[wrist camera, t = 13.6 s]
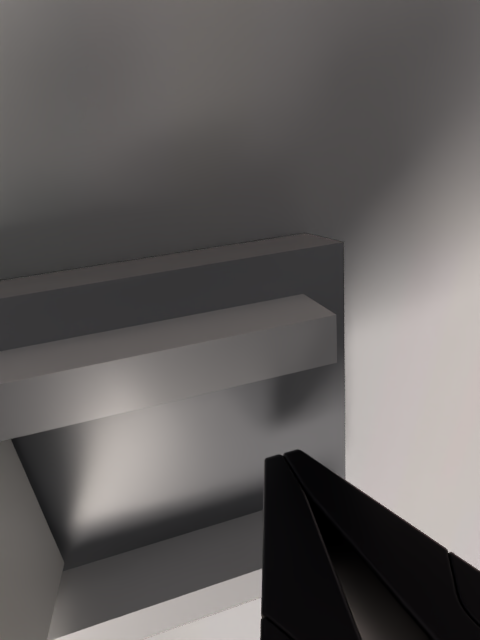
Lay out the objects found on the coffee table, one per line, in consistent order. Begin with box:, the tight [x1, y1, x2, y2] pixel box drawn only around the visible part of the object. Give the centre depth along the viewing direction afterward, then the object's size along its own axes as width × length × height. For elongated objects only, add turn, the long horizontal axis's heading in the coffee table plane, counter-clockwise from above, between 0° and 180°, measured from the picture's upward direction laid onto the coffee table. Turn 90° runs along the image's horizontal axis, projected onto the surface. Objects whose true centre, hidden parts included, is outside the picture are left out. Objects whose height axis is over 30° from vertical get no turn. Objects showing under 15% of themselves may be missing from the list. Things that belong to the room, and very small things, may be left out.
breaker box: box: [0, 233, 345, 640], centre depth 8 cm, size 13×9×4 cm
